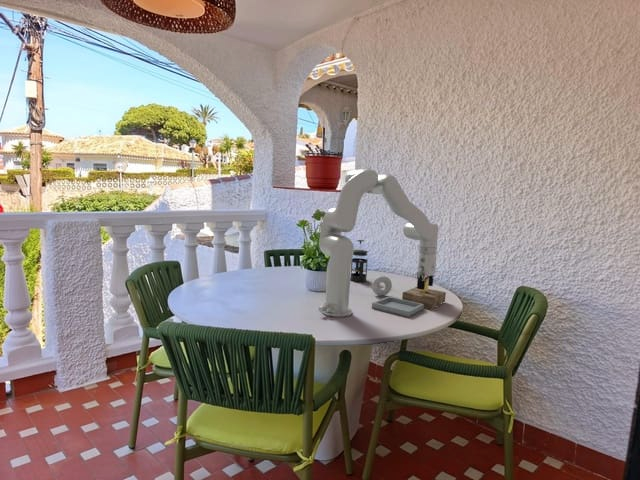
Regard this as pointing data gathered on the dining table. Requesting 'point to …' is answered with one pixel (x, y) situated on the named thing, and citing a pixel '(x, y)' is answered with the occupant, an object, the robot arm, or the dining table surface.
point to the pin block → (425, 297)
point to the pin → (425, 285)
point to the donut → (377, 281)
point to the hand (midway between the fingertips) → (424, 287)
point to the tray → (398, 306)
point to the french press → (359, 276)
